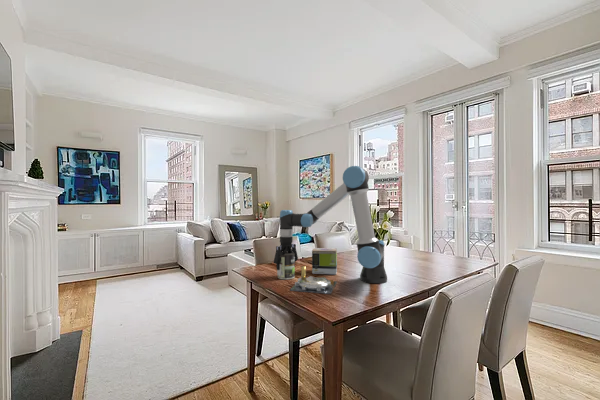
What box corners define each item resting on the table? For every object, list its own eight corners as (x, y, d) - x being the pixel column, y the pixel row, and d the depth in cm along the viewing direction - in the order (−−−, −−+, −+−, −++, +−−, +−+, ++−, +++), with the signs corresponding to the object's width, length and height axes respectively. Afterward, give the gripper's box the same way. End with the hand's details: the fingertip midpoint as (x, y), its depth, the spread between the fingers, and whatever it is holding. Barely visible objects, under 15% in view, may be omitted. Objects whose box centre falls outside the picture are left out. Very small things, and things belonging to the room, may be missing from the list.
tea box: (337, 271, 189) (337, 248, 189) (336, 275, 180) (336, 250, 179) (313, 270, 192) (313, 247, 192) (311, 274, 182) (311, 250, 182)
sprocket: (309, 277, 171) (309, 262, 171) (340, 283, 159) (340, 267, 159) (287, 286, 154) (287, 269, 154) (321, 293, 143) (321, 275, 142)
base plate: (336, 282, 164) (336, 281, 164) (330, 294, 144) (330, 293, 144) (300, 279, 170) (300, 278, 170) (289, 290, 150) (289, 289, 149)
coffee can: (296, 275, 179) (296, 252, 179) (292, 280, 169) (292, 255, 168) (280, 274, 181) (280, 251, 181) (275, 279, 171) (275, 254, 170)
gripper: (295, 233, 185) (295, 269, 185) (267, 237, 169) (267, 276, 169) (304, 234, 180) (304, 271, 180) (275, 238, 164) (275, 278, 164)
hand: (286, 273), depth 175 cm, fingers closed on coffee can, 10 cm apart
